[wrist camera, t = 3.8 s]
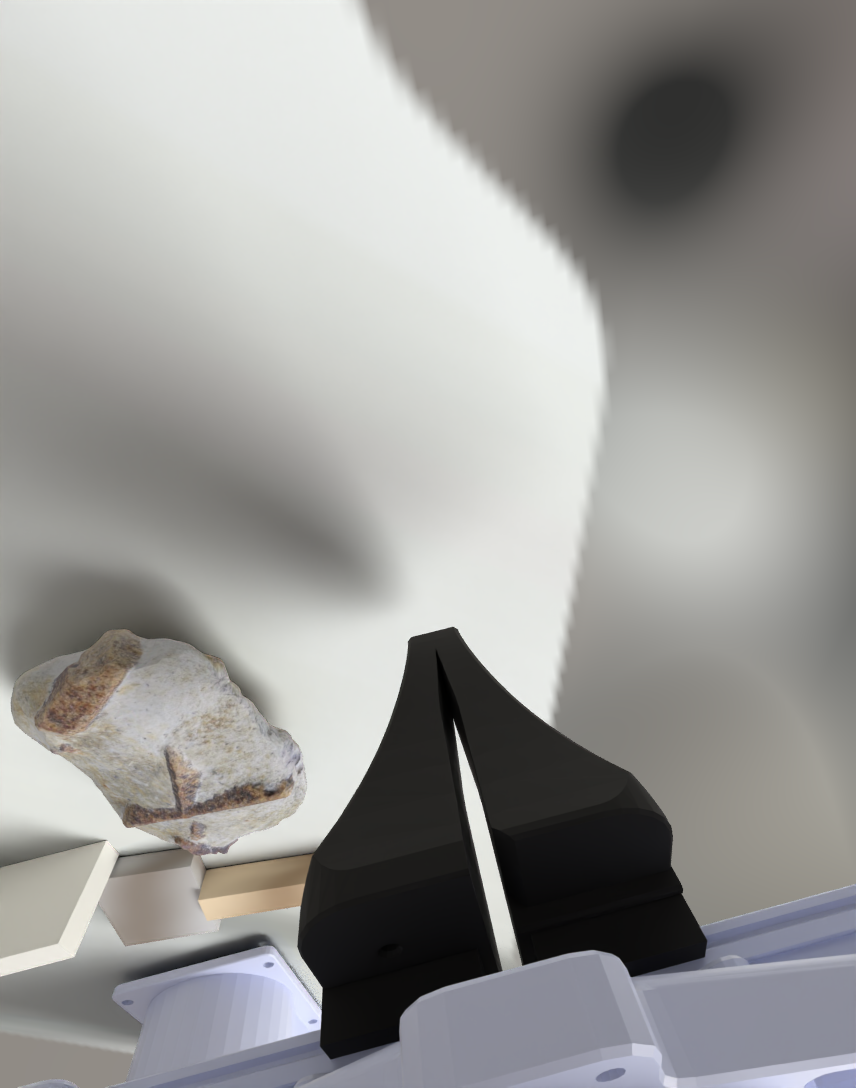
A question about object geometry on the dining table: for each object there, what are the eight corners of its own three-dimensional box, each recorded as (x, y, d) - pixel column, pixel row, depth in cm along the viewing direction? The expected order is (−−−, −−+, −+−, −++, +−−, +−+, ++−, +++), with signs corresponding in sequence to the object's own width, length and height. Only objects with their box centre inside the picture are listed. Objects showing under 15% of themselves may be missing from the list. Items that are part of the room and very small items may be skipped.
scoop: (386, 818, 21) (387, 846, 20) (393, 883, 23) (395, 911, 22) (95, 861, 19) (80, 893, 18) (132, 925, 22) (121, 957, 21)
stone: (347, 764, 18) (344, 833, 16) (186, 823, 19) (161, 898, 17) (193, 582, 14) (157, 643, 11) (-13, 671, 14) (-85, 746, 12)
